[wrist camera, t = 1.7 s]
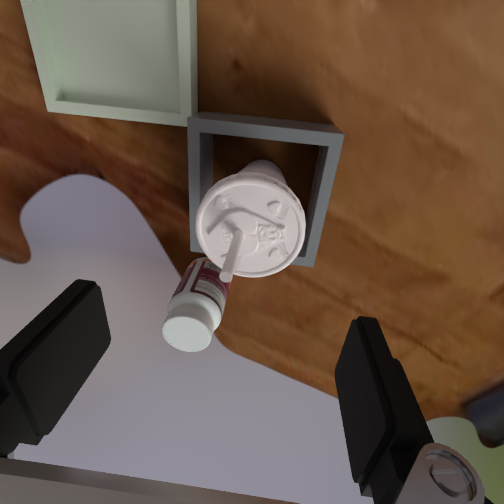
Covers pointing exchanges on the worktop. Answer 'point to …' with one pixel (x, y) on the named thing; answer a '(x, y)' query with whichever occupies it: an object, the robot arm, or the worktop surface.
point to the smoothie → (251, 222)
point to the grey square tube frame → (324, 135)
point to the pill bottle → (196, 306)
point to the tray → (116, 57)
